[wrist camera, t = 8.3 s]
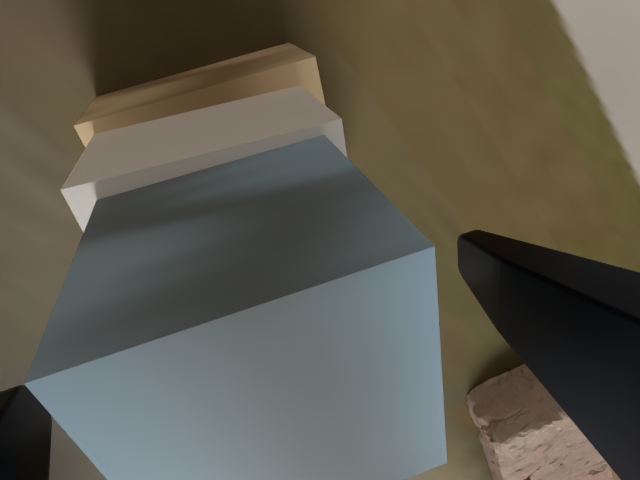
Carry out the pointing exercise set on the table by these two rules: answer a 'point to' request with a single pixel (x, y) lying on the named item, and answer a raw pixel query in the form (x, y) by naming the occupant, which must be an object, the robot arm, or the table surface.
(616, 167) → the table surface
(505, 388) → the brick
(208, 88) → the oak slab
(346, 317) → the blue cube
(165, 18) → the table surface
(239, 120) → the white slab
